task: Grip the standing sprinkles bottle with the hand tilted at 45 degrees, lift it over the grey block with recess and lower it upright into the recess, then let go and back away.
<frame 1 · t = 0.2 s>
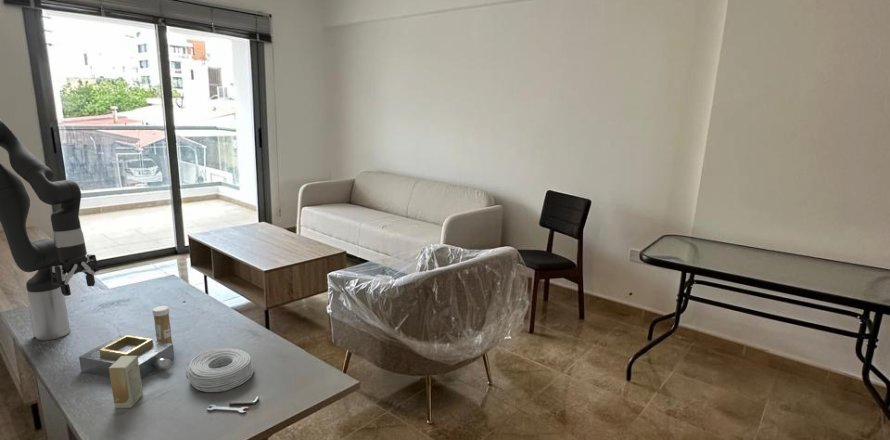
hand: (79, 290, 156), 18 cm above the table, tool pointing down, fingers open, 8 cm apart
cable: (222, 378, 142), on the table
sprinkles bottle: (164, 345, 158), on the table
skincare box: (129, 402, 129), on the table
grey block with recess: (129, 364, 146), on the table
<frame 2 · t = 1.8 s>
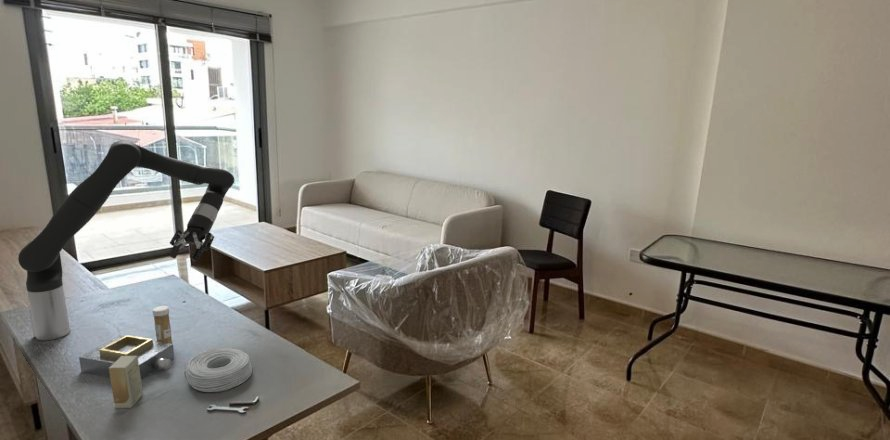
hand: (182, 258, 163), 27 cm above the table, tool tilted 45°, fingers open, 8 cm apart
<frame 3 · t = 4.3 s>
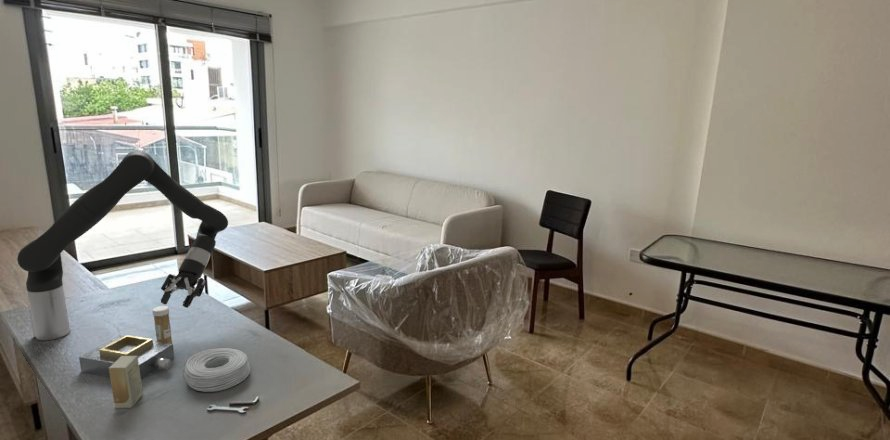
hand: (174, 305, 161), 12 cm above the table, tool tilted 45°, fingers open, 8 cm apart
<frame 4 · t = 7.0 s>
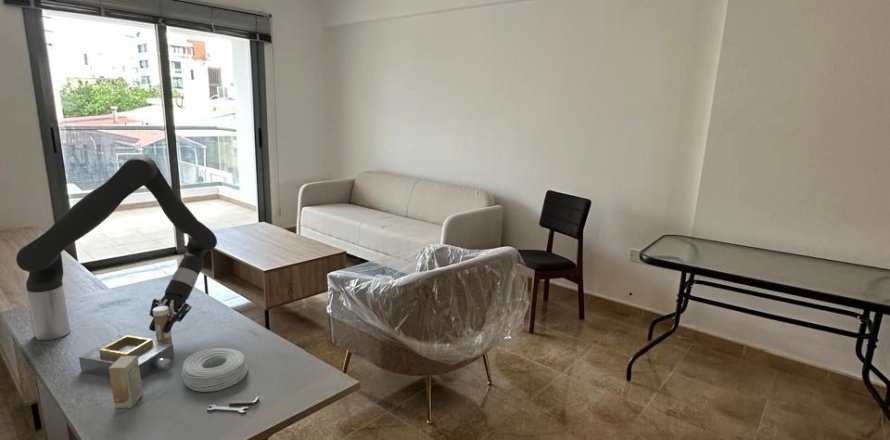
hand: (158, 331, 155), 6 cm above the table, tool tilted 45°, fingers closed on sprinkles bottle, 4 cm apart
sprinkles bottle: (164, 345, 158), on the table, touching gripper
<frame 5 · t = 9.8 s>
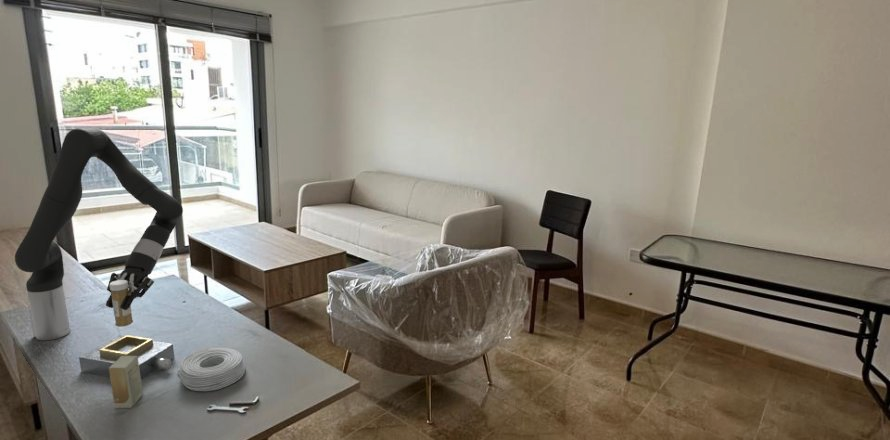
hand: (116, 307, 140), 20 cm above the table, tool tilted 45°, fingers closed on sprinkles bottle, 4 cm apart
sprinkles bottle: (124, 324, 143), point 13 cm above the table, touching gripper
when the fingers open (12 cm above the table, at t = 12.4 s): sprinkles bottle stays where it is, resting on grey block with recess.
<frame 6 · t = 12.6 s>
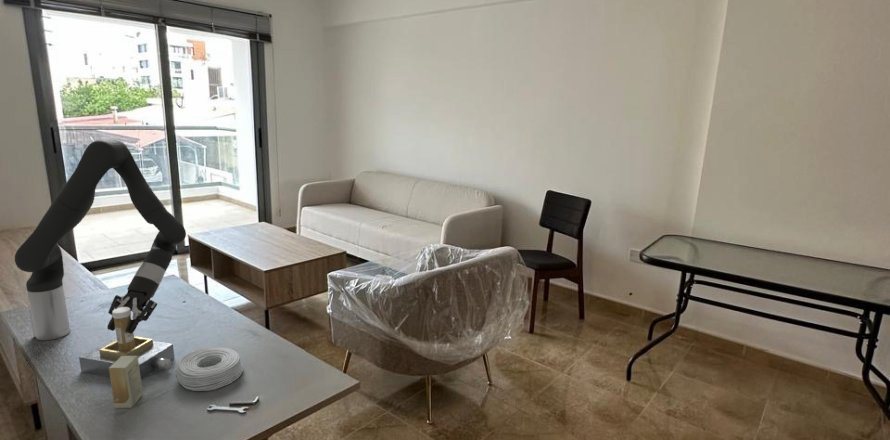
hand: (119, 331, 142), 12 cm above the table, tool tilted 45°, fingers open, 6 cm apart
sprinkles bottle: (127, 350, 145), point 5 cm above the table, touching grey block with recess
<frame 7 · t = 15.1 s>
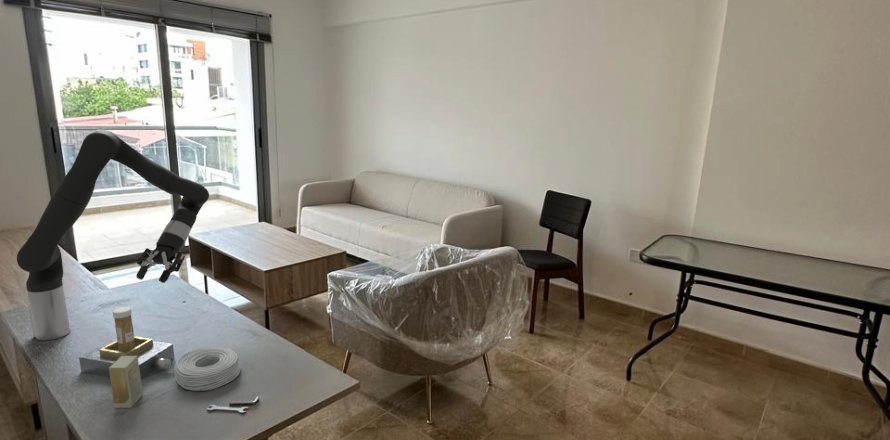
hand: (150, 280, 152), 23 cm above the table, tool tilted 45°, fingers open, 8 cm apart
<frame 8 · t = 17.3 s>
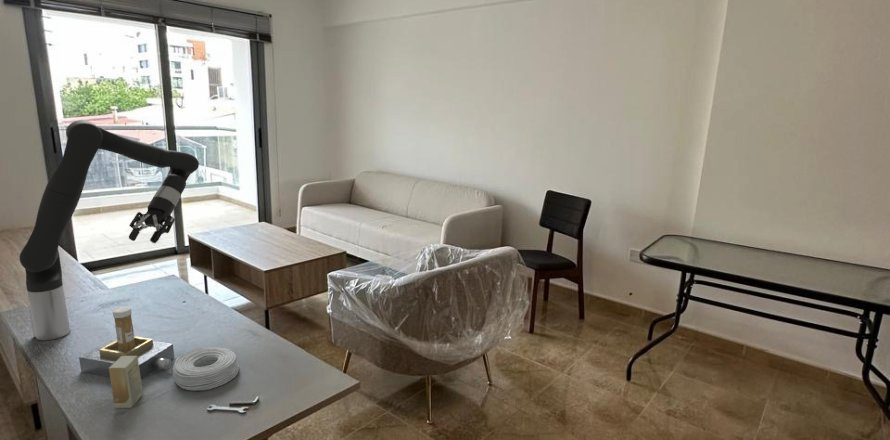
hand: (141, 240, 162), 33 cm above the table, tool tilted 45°, fingers open, 8 cm apart
at the end: sprinkles bottle 0.2 cm off-centre on the grey block with recess, point 4.8 cm above the grey block with recess's base; sprinkles bottle tilted 0°; the gripper is holding nothing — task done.
